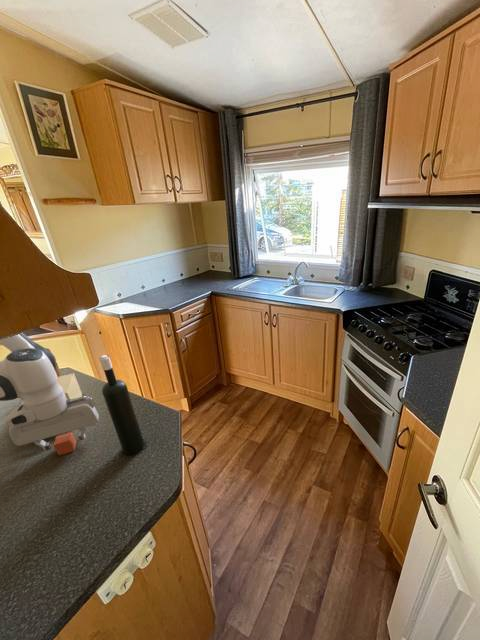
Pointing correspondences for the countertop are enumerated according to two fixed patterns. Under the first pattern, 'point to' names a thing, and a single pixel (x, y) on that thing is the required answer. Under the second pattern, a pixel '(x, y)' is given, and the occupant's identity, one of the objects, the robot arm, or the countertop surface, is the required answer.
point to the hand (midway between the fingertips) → (65, 443)
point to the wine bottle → (121, 410)
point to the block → (65, 443)
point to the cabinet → (69, 386)
